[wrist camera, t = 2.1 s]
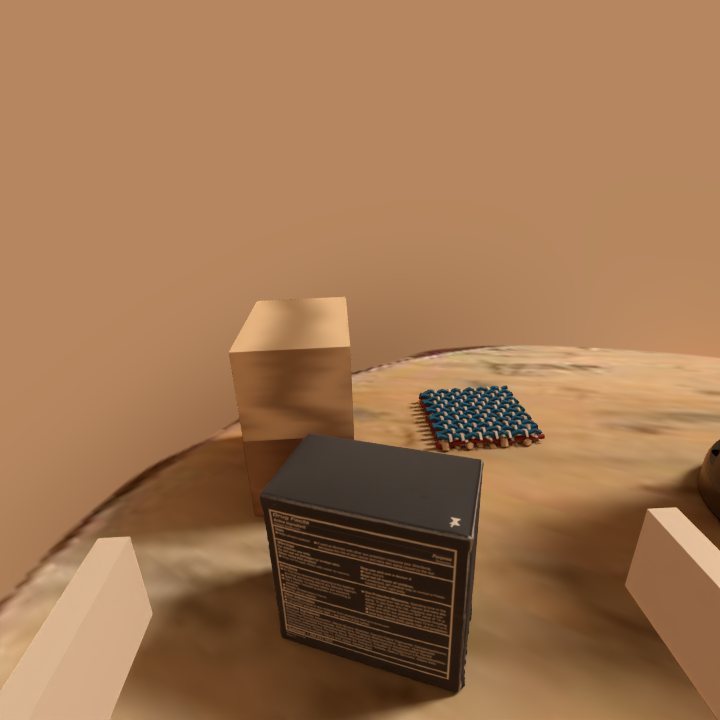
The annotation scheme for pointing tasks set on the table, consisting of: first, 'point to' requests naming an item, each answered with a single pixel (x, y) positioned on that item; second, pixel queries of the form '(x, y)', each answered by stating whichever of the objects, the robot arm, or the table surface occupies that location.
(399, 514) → the small box
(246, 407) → the tower top
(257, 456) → the tower base
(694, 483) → the table surface
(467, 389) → the woven mat
